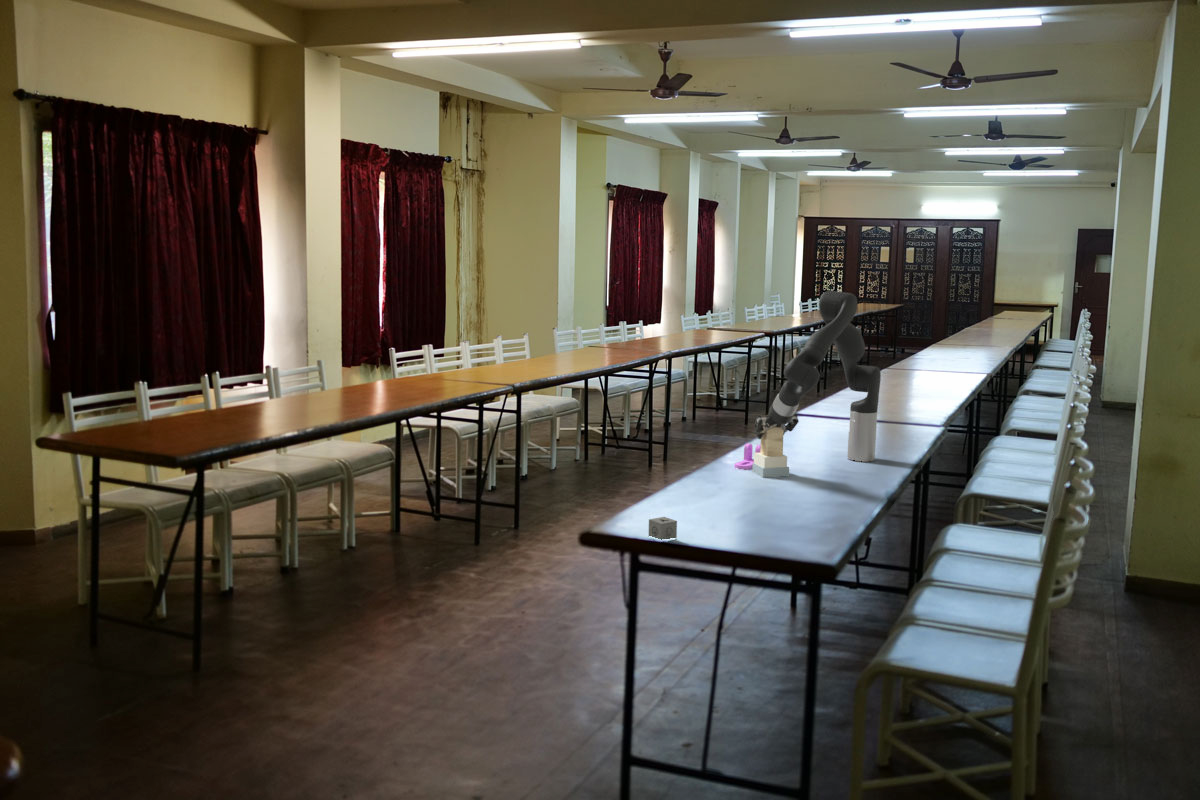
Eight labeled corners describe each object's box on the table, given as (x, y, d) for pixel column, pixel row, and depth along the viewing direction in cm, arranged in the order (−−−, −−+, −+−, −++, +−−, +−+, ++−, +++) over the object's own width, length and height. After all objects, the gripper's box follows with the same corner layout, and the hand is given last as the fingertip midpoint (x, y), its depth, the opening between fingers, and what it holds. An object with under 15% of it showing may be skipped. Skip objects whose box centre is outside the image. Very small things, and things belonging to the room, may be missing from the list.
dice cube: (660, 543, 260) (661, 523, 260) (648, 538, 264) (648, 519, 264) (676, 540, 263) (676, 521, 262) (663, 535, 267) (664, 516, 267)
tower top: (753, 463, 346) (754, 452, 345) (775, 462, 348) (776, 451, 348) (764, 468, 338) (764, 457, 338) (786, 466, 341) (787, 456, 340)
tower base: (752, 473, 347) (752, 462, 346) (777, 472, 349) (778, 462, 349) (762, 479, 338) (763, 468, 338) (788, 478, 340) (789, 467, 340)
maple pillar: (760, 453, 345) (761, 423, 343) (775, 452, 346) (776, 422, 344) (767, 456, 339) (767, 426, 338) (782, 455, 341) (783, 425, 339)
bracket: (748, 462, 363) (749, 442, 362) (763, 464, 360) (763, 444, 359) (731, 468, 352) (732, 448, 351) (746, 470, 349) (747, 450, 348)
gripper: (802, 396, 334) (786, 426, 348) (760, 397, 331) (745, 427, 344) (809, 415, 330) (792, 445, 343) (766, 416, 327) (750, 446, 340)
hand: (768, 436), depth 344 cm, fingers open, 6 cm apart
